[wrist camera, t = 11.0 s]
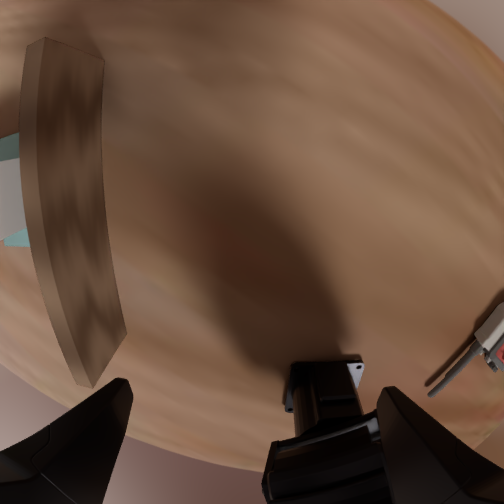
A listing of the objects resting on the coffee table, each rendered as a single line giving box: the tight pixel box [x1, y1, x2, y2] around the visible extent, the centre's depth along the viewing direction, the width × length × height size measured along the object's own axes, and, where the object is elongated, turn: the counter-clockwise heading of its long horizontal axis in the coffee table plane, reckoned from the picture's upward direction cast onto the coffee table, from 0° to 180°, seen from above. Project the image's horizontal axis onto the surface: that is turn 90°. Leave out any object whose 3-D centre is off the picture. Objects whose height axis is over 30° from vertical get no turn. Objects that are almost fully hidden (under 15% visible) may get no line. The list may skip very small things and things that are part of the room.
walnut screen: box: [19, 37, 127, 389], centre depth 16 cm, size 22×2×7 cm, turn 179°
